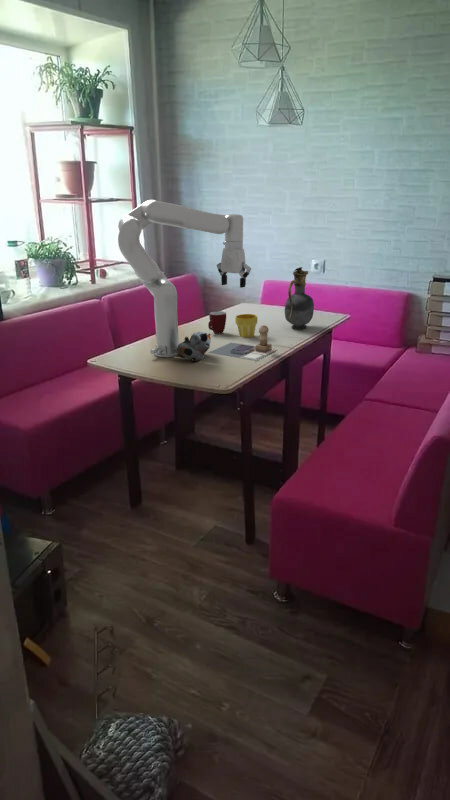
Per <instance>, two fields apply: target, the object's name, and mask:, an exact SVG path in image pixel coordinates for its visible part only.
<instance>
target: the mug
mask: <svg viewBox="0 0 450 800" xmlns="http://www.w3.org/2000/svg"><path fill="white" fill-rule="evenodd" d="M226 324H227V312H226V311H220V310H219V311H217V310H216V311H211V312H209V321H208V329H209V331H212V333H214V335H215V334H221V335H223V333H224V331H225V328H226Z"/></svg>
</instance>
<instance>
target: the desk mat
mask: <svg viewBox="0 0 450 800" xmlns="http://www.w3.org/2000/svg"><path fill="white" fill-rule="evenodd" d="M241 344H243V343H236V342H229V343H227V344H225V345H222V346H220V347H217V348H215V349H213V350H210V351H209V352H208V351H207V353H209V354H212V355H213V354H215V355H220V356H225V357H230V358H232V357H233V358H235V359H236V358H237V359H243V360H246V359H245V358H240V357H241V356H243V355H241V354H235V353H230V349H232V348H235V347H237V346H239V345H241ZM243 345H245V344H243ZM248 345H249V344H248ZM249 346H251V345H249ZM254 346H255V350H256V345H254ZM253 351H254V350H253ZM276 351H277V349H276V350H275V351H273V352H271V353H269V354H267V355H265V356H263V357H261V358H259V359H257V360H253V361H254V362H255V363H257V362H259V361H260V359H262V358H264V357H266V356H268V355H270V354H272V353H274V352H275V353H277V352H276ZM247 360H249V361H252V360H251V359H247Z"/></svg>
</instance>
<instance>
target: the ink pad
mask: <svg viewBox="0 0 450 800" xmlns="http://www.w3.org/2000/svg"><path fill="white" fill-rule="evenodd" d="M240 344H241V345H239V346H237V347H235V348H232V349H230V353H235V354H241V355H245V354H247V353H249V352H251V351H253V350H255V346H256V345H250V346H249V344H244V345H243V343H240Z"/></svg>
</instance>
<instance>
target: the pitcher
mask: <svg viewBox="0 0 450 800" xmlns="http://www.w3.org/2000/svg"><path fill="white" fill-rule="evenodd" d="M308 274H309V271H308V270H303V267H302V266H300V267H297V268H295V269H294V270H293V272H292V275H293V276H294V277H293V280H291V281H290V283H289V285H288V290H287V291H288V295H287V296H288V297H287V299H286V301H285V305H284V317H285V320H286V321H287V323H289V324H291V329H292V330H295V331H297V330H298V331H299V330H300V331H301V329H302V330H305V329H307V327H308V326H307V325H308V324H309V323H310V322H311V320H312V319H313V316H314V312H315V311H314V310H315V303H314V299H313V298H312V297H311V296H310V295H309V294H306V292H305V291H306V284H307V283H306V280H307V279H306V278H307V275H308ZM293 285H294V293H292V287H293Z"/></svg>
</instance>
